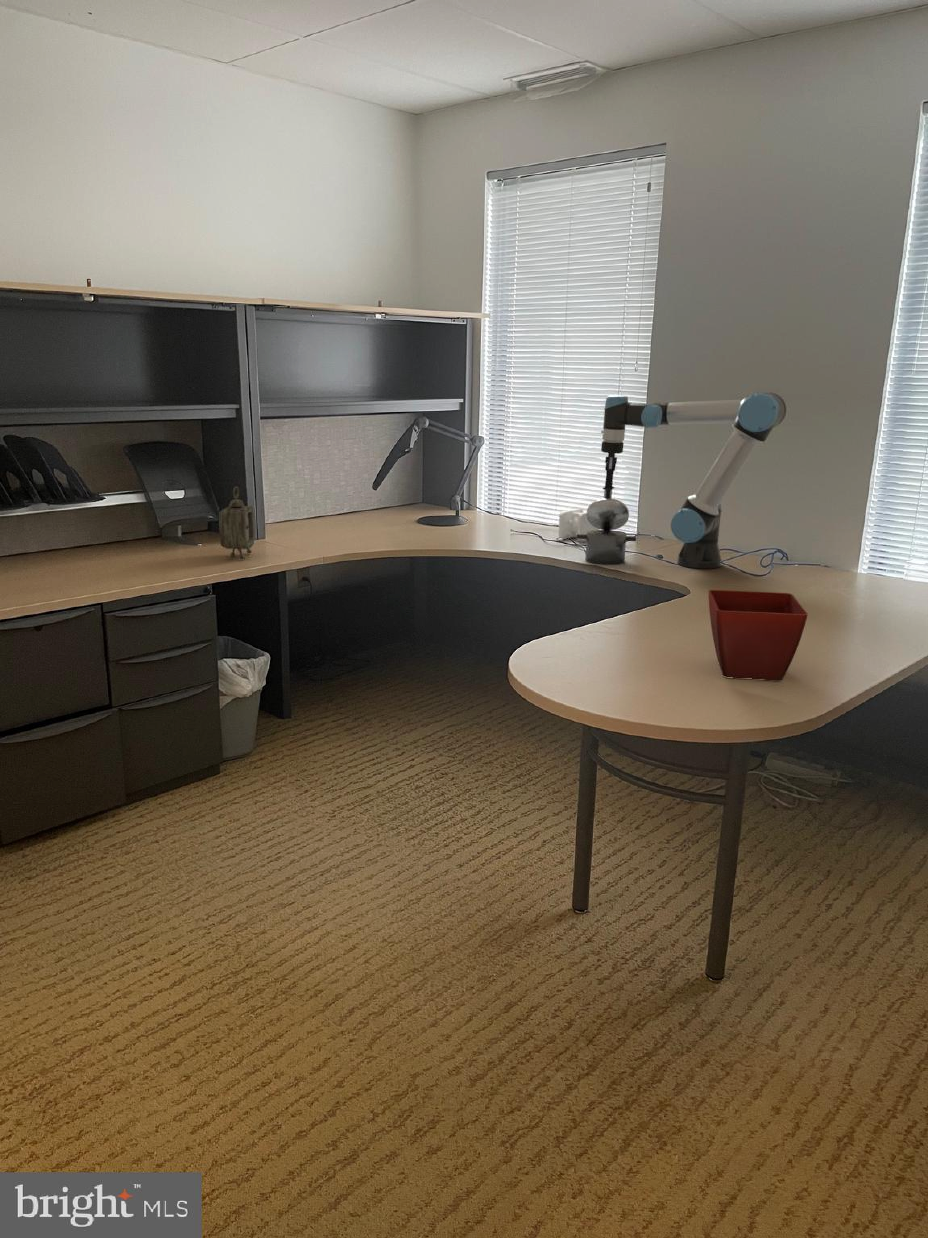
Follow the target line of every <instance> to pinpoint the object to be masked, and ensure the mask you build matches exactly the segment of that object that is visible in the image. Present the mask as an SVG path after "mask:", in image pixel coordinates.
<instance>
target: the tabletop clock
mask: <svg viewBox="0 0 928 1238" xmlns="http://www.w3.org/2000/svg"><path fill="white" fill-rule="evenodd" d="M236 490H237V493H236ZM232 495H233V496H232V497H233V498H234V499H232V500H230V503H229V505H228V506H227V507H225V508H223V509H222V510H220V511H219V514H218V526H219V529H218V530H219V543H220V546H222V547H223V548H224V549H228V550H232V552H231V553H230V557H231V558H234V557H236V553H235V550H237V551H238V552H239V554H240V557H239V559H240V560H241V559H244V560H245V555H243V551H242V550H247V551H246V552H247V554H248V553H251V554H252V550H251V548H252V547H253V545H254V544H255V515H254V507H253V506H251V505H250V506H249V505H248V506H247V505H246V506H245V504H244V502H243V500H241V499H238V498H239V496H240V489H239V487H238V486H234V487H233V490H232ZM233 556H234V557H233Z"/></svg>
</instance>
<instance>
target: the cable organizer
mask: <svg viewBox="0 0 928 1238" xmlns="http://www.w3.org/2000/svg"><path fill="white" fill-rule="evenodd" d="M558 518H559V522H558V536H559V537H558V538H561V539H563V538H564V539H563V540H567V538H568V539H570V538H577V534H587V532H588V531H592V530H600V529H598V528H596V527H594V526H592V525H591V524H590V523H589V521H588V520H587V511H584V509H582V508H573V509H567V510H563V511H562V510H561V512H560V514H558ZM577 541H580V542H582V543H583V542H586V539H577Z"/></svg>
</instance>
